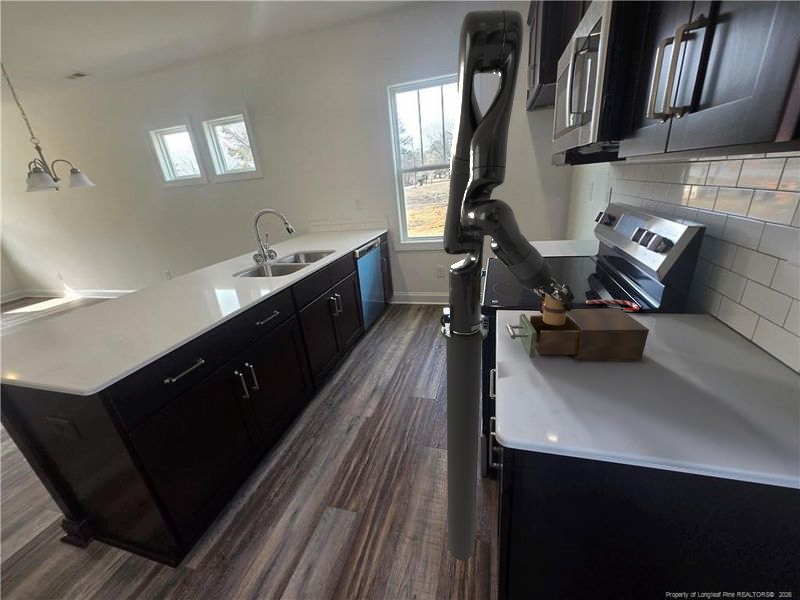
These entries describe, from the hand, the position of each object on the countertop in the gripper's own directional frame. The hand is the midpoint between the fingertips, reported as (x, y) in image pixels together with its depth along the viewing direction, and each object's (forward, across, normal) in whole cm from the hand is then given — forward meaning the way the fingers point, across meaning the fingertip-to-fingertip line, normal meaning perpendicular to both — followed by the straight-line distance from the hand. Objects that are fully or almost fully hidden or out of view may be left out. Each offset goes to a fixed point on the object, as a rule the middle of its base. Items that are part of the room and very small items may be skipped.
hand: (560, 304), depth 80 cm
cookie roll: (+2, 0, +4) cm, 5 cm away
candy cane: (+34, +12, -17) cm, 40 cm away
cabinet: (+15, -5, +3) cm, 16 cm away
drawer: (+5, +1, +11) cm, 12 cm away
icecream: (+18, +16, -1) cm, 24 cm away
